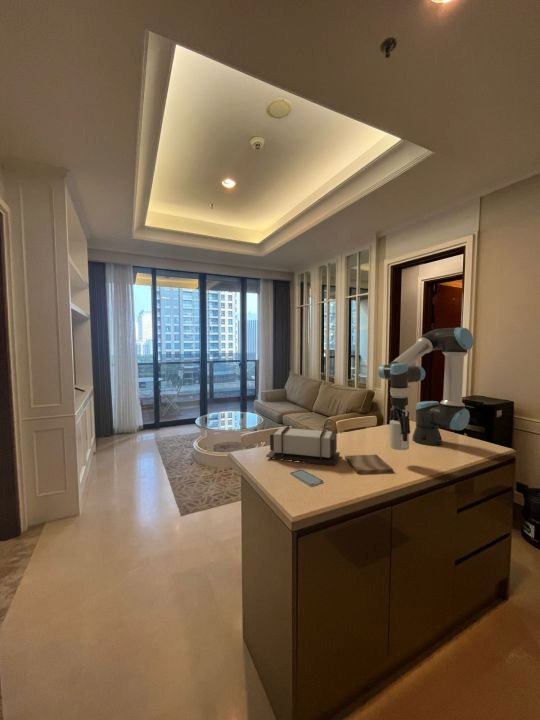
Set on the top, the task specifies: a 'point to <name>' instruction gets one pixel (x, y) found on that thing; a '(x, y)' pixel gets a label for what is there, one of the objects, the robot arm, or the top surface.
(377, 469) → the walnut board
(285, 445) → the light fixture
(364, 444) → the top surface
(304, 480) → the smartphone
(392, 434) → the beige cylinder
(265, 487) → the top surface
